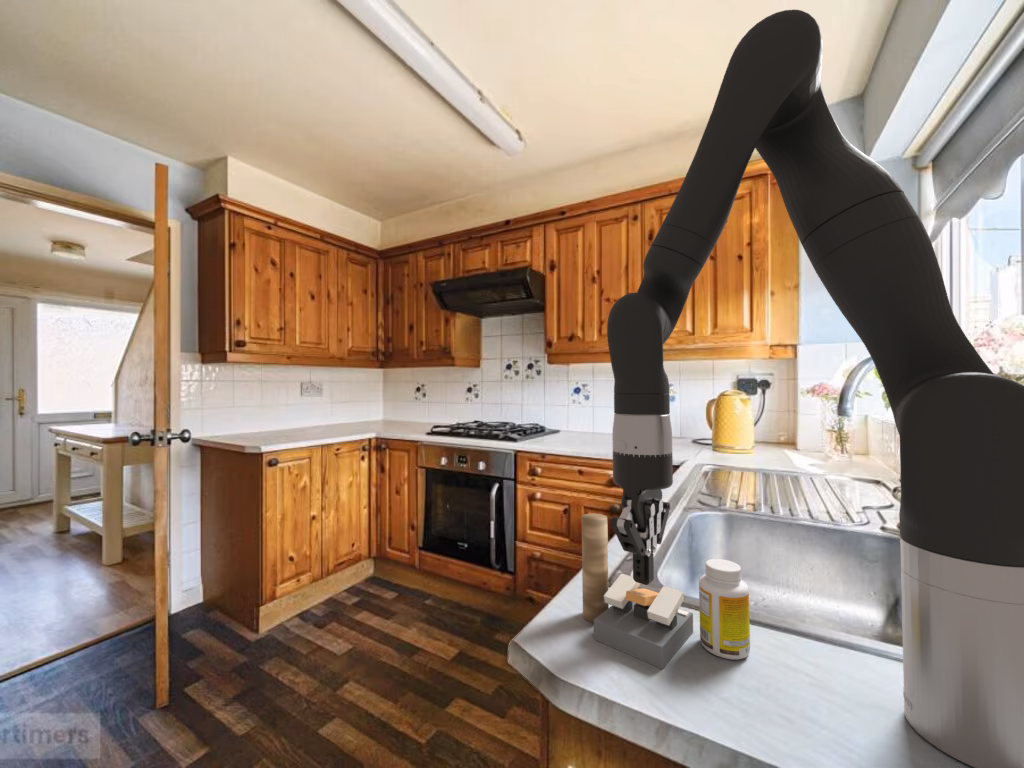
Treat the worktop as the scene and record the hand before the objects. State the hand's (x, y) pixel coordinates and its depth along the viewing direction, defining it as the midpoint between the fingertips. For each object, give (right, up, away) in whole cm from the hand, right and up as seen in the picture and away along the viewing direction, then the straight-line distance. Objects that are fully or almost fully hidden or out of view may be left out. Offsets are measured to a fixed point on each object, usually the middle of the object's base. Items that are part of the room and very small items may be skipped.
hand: (643, 581), depth 56 cm
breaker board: (0, -7, 0) cm, 7 cm away
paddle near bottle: (+2, -2, -2) cm, 4 cm away
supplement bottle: (+9, -7, -3) cm, 12 cm away
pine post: (-5, -7, +5) cm, 10 cm away
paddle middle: (0, -3, 0) cm, 2 cm away
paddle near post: (-2, -3, +2) cm, 4 cm away
